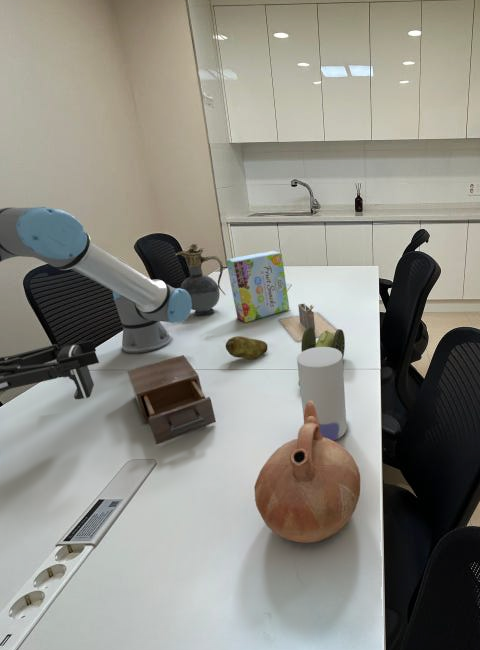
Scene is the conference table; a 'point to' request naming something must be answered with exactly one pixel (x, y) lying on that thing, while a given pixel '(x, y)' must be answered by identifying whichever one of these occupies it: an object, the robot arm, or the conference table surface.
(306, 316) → the ruin model on sheet
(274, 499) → the jug
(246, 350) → the potato
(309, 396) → the container
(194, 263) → the pitcher
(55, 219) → the robot arm
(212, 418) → the drawer
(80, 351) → the battery charger
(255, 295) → the snack box
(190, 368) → the cabinet
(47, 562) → the conference table surface
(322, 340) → the cannon
